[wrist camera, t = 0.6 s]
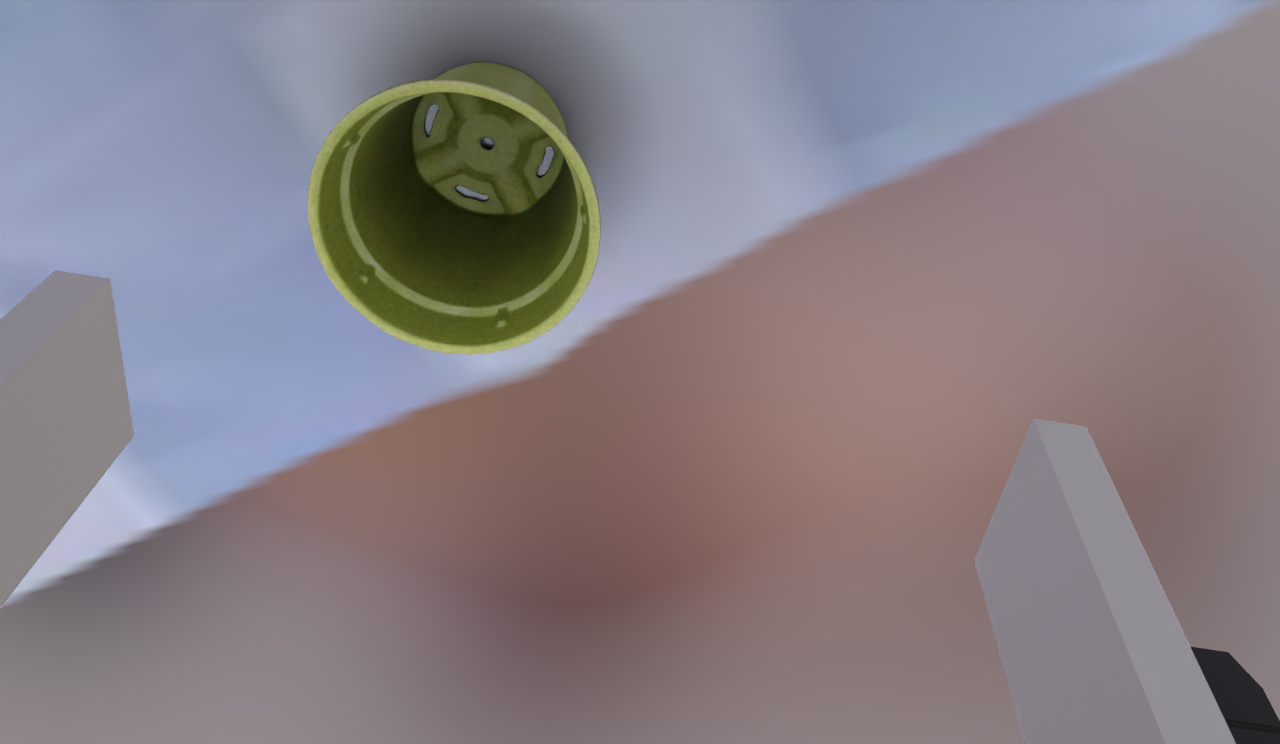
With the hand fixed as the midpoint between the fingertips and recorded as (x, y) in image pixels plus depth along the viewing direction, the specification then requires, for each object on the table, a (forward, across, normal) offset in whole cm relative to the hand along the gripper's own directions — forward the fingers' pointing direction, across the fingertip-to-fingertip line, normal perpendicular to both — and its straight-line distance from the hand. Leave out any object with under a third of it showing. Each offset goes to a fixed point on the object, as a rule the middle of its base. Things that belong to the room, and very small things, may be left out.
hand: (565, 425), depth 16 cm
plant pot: (+27, -6, -7) cm, 29 cm away
